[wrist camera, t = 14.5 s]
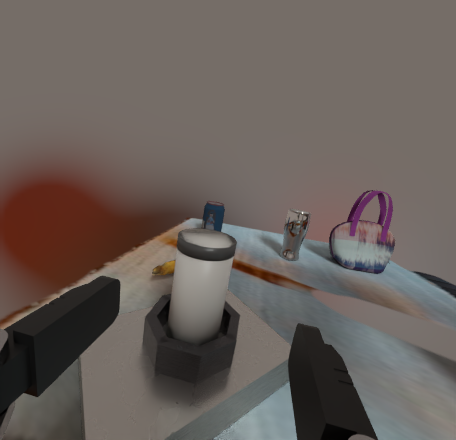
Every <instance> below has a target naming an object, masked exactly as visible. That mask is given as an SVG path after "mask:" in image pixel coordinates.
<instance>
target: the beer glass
mask: <svg viewBox="0 0 456 440" xmlns="http://www.w3.org/2000/svg"><path fill="white" fill-rule="evenodd" d="M310 216H311V213H309V212H305V211H302V210H297V209H289V211H288V215H287V217H286V221H285V226H284V239H283V246H282V248H281V251H280V253H279V255H280V256H281V257H282V258H284V259H287V260H290V261H297V260H298V259H299V250H300V247H301V244H302V242H303V240H304V238H305V236H306V233H307V231H308V227H309V223H310Z"/></svg>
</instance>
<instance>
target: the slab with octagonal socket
mask: <svg viewBox="0 0 456 440" xmlns="http://www.w3.org/2000/svg"><path fill="white" fill-rule="evenodd" d="M170 302H171V294H168V295H164V296H162V297H161V298H160V300H159V301H158V302H157V303H156V304H155V306H154V307H150V308H146V309H142V310H138V311H134V312H130V313H125V314H121V315H117V318H116V319H115V321H114V322H113V324H112V325H111V326H110V327H109V328H108V329H107V330H106V331H105V332H104V333H103V334H101V335H100V336H99V337H98V338H97V339H96V340H95V341H94V342H93V343H92V344H91V345H90V346H89V347H88V348H87V349H86V350H85V351H84V352H83V353H82V354H81V355H80V356H79V357H78V364H79V384H80V404H81V425H82V440H212V439H213V438H214V437H216V436H217V435H218V434H220V433H221V432H222V431H224V430H225V429H226V428H228V427H229V426H230V425H232V424H233V423H234V422H236V421H237V420H238V419H240V418H241V417H242V416H244V415H245V414H246V413H248V412H249V411H250V410H251V409H253V408H254V407H255V406H257V405H258V404H259V403H261V402H262V401H263V400H265V399H266V398H267V397H269V396H270V395H271V394H273V393H274V392H275V391H277V390H278V389H279V388H281V387H282V386H283V385H285V384H286V383H287V382H289V373H288V359H289V353H290V349H291V345H290V344H288V343H287V342H286V341H285V340H284V339H283V338H282V337H281V336H279V335H278V334H277V333H276V332H275V331H274V330H273V329H272V328H271V327H269V326H268V325H267V324H266V323H265V322H264V321H263V320H262V319H261V318H259V317H258V316H257V315H256V314H255V313H254V312H253V311H252V310H250V309H249V308H248V307H247V306H246V305H245V304H244V303H243V302H242V301H240V300H239V299H238V298H237V297H236V296H235V295H234V294H233V293H232V292H230V291H229V290H228V289H227V294H226V299H225V304H224V310H223V315H222V320H221V326H220V331H219V336H218V339H215V340H213V341H210V342H208V343H206V344H203V345H201V346H198V345H194V344H191V343H187V342H183V341H180V340H176V339H172V338H168V337H167V335H166V333H167V325H168V317H169V310H170Z"/></svg>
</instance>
